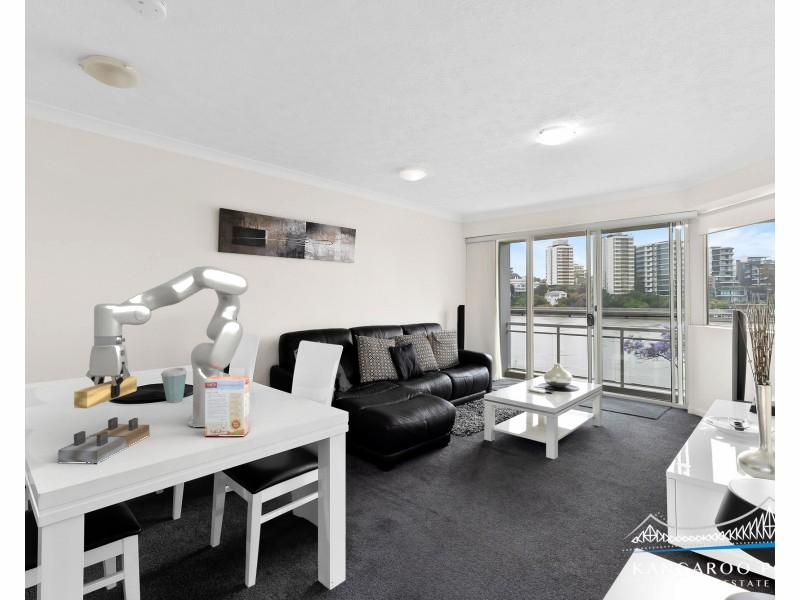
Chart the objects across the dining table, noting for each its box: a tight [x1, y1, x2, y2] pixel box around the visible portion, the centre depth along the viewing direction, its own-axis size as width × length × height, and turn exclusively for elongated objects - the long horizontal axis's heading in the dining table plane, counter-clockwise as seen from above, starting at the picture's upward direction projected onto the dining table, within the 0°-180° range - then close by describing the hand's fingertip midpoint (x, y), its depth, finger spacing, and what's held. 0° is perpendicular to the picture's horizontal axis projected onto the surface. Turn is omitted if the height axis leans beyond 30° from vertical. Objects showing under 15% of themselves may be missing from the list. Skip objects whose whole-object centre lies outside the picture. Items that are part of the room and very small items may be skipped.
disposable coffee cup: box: [160, 367, 188, 403], centre depth 190 cm, size 11×11×15 cm
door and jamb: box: [57, 416, 151, 463], centre depth 133 cm, size 12×24×8 cm, turn 178°
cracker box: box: [204, 376, 250, 436], centre depth 147 cm, size 14×6×21 cm, turn 92°
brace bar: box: [73, 375, 138, 409], centre depth 132 cm, size 4×22×5 cm, turn 179°
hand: (108, 396), depth 133 cm, fingers closed on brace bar, 4 cm apart
